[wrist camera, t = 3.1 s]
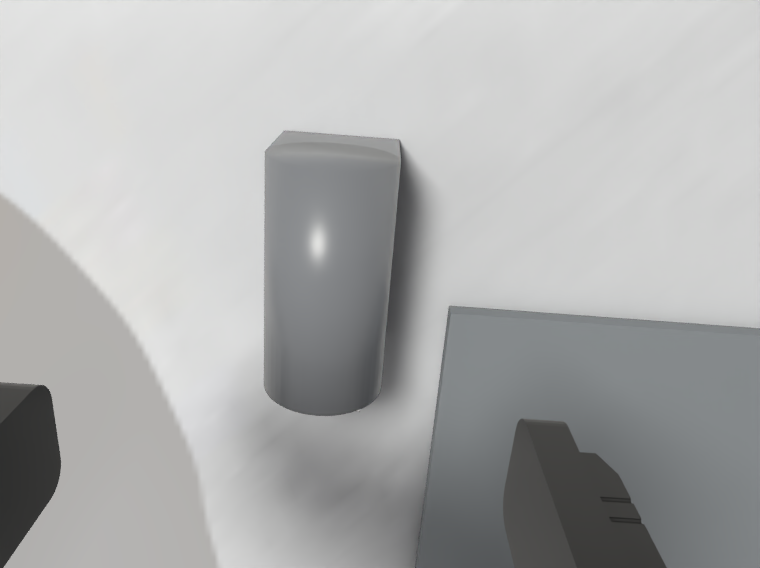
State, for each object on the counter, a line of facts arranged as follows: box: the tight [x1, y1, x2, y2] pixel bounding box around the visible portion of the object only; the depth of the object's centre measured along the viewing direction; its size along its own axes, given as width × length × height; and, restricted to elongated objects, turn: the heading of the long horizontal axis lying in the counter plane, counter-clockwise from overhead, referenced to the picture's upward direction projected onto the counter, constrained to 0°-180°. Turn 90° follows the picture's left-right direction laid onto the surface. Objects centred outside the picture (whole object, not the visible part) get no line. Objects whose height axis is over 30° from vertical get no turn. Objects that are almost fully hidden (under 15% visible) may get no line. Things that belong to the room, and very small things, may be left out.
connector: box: [264, 131, 401, 416], centre depth 19 cm, size 4×8×5 cm, turn 176°
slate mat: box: [415, 306, 760, 568], centre depth 24 cm, size 14×14×1 cm
